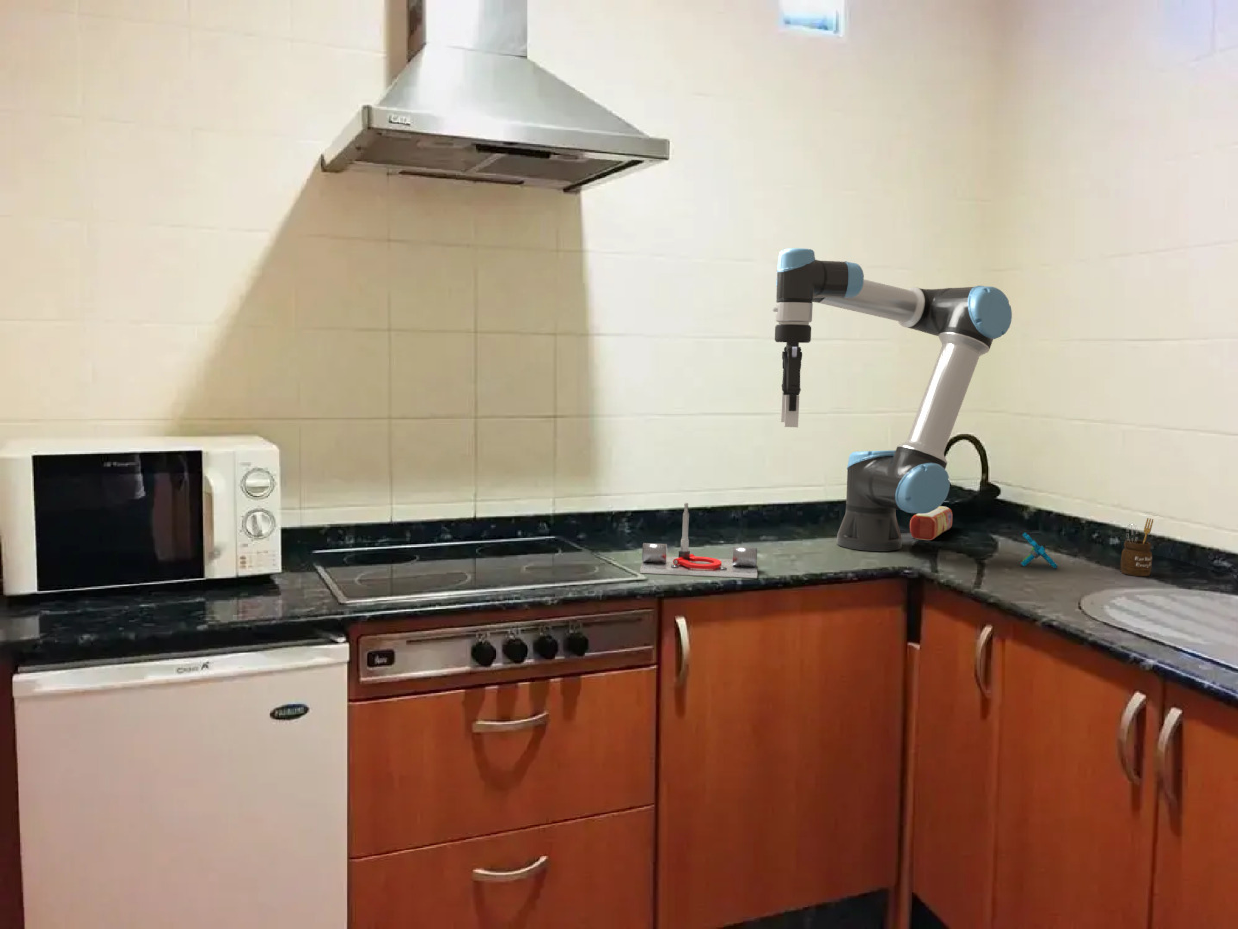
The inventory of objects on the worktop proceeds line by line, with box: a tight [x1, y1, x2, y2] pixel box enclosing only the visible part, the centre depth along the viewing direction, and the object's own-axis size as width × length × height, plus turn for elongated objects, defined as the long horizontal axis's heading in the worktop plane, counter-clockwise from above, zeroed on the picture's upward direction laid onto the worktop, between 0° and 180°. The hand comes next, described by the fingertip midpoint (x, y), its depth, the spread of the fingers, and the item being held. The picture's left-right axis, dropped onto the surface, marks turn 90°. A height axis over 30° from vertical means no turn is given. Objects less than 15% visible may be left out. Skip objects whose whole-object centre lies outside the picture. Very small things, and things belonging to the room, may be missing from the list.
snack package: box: [909, 505, 953, 541], centre depth 265 cm, size 21×7×7 cm, turn 150°
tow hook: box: [673, 502, 722, 569], centre depth 215 cm, size 8×13×9 cm
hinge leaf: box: [639, 542, 758, 579], centre depth 217 cm, size 13×24×5 cm, turn 84°
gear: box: [1020, 532, 1058, 569], centre depth 227 cm, size 11×6×10 cm
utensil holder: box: [1120, 517, 1154, 578], centre depth 221 cm, size 6×6×12 cm
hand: (789, 424), depth 218 cm, fingers open, 13 cm apart
